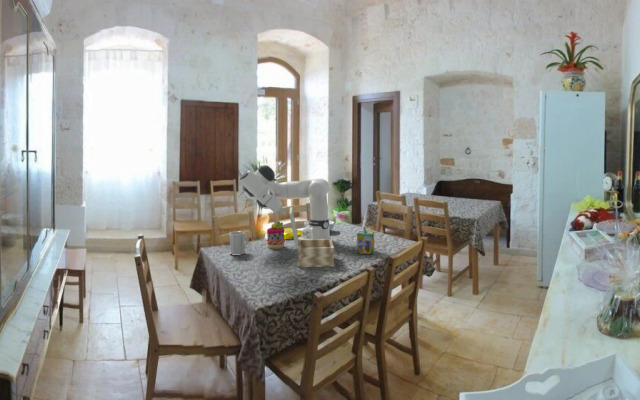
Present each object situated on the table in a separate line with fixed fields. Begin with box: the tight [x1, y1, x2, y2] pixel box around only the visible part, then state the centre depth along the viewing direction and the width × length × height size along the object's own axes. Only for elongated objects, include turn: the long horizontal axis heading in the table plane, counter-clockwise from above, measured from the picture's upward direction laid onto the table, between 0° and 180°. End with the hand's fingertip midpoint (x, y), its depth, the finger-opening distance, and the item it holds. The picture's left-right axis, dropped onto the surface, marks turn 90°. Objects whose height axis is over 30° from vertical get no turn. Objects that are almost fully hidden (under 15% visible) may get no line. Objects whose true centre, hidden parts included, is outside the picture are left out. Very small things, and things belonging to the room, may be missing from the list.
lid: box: [288, 206, 298, 249], centre depth 243 cm, size 18×20×1 cm
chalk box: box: [356, 226, 375, 255], centre depth 264 cm, size 9×9×15 cm
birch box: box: [297, 238, 335, 268], centre depth 245 cm, size 18×20×10 cm
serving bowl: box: [303, 220, 335, 232], centre depth 322 cm, size 21×21×7 cm
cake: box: [266, 221, 286, 250], centre depth 278 cm, size 10×11×15 cm
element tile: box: [283, 227, 303, 240], centre depth 308 cm, size 15×15×5 cm
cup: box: [228, 231, 249, 255], centre depth 263 cm, size 10×9×12 cm
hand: (285, 214), depth 242 cm, fingers closed
